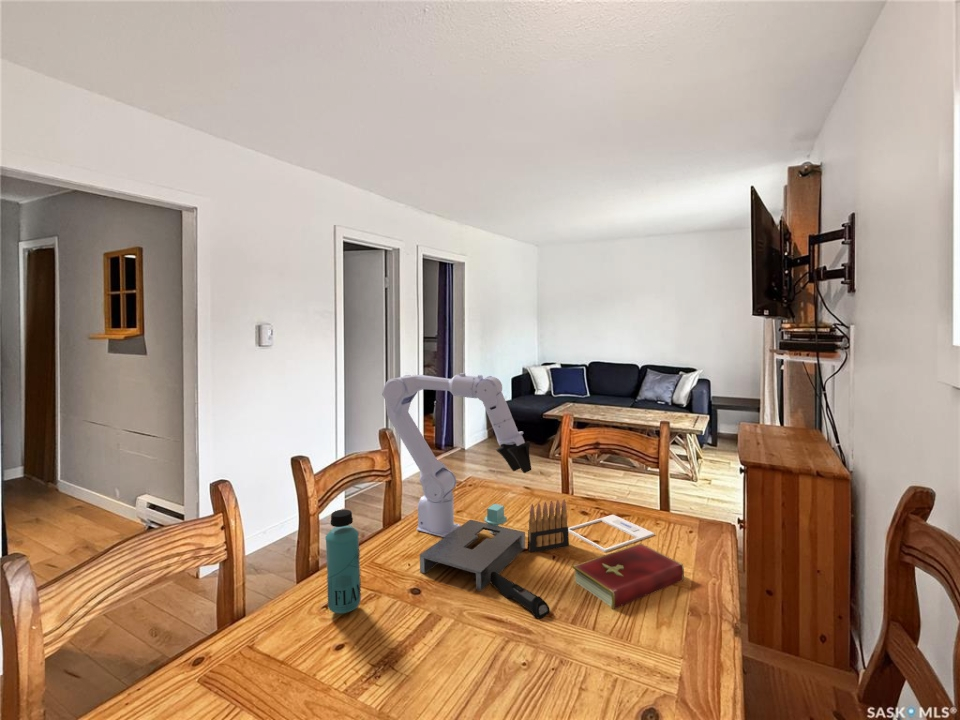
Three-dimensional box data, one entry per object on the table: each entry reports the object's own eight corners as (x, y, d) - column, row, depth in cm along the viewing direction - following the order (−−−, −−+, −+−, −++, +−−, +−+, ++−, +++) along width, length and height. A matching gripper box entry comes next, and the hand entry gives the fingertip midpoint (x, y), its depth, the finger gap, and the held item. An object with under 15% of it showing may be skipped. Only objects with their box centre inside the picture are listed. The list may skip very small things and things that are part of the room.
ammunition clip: (565, 543, 121) (565, 497, 120) (569, 546, 119) (569, 499, 118) (527, 549, 117) (527, 502, 116) (530, 553, 116) (530, 505, 115)
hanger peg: (480, 533, 127) (480, 508, 126) (491, 525, 132) (491, 501, 132) (500, 538, 124) (500, 513, 123) (510, 529, 129) (510, 505, 128)
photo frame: (654, 532, 125) (604, 549, 116) (654, 536, 125) (604, 554, 116) (613, 513, 137) (565, 527, 128) (613, 517, 137) (565, 531, 128)
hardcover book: (683, 582, 102) (684, 563, 102) (613, 612, 92) (613, 591, 92) (640, 559, 113) (640, 541, 113) (572, 583, 103) (572, 564, 102)
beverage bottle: (330, 625, 88) (327, 521, 87) (324, 607, 94) (321, 509, 93) (365, 615, 91) (362, 514, 90) (357, 598, 97) (354, 503, 96)
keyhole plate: (420, 572, 107) (419, 554, 107) (470, 534, 126) (470, 519, 126) (481, 591, 99) (480, 572, 99) (525, 548, 118) (524, 532, 118)
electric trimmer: (499, 581, 104) (499, 567, 103) (551, 613, 91) (551, 598, 91) (486, 587, 101) (486, 573, 101) (537, 621, 89) (537, 605, 89)
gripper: (525, 413, 117) (546, 465, 116) (506, 416, 130) (524, 463, 130) (500, 424, 114) (522, 477, 114) (483, 426, 128) (502, 473, 127)
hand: (522, 470), depth 121 cm, fingers open, 7 cm apart
